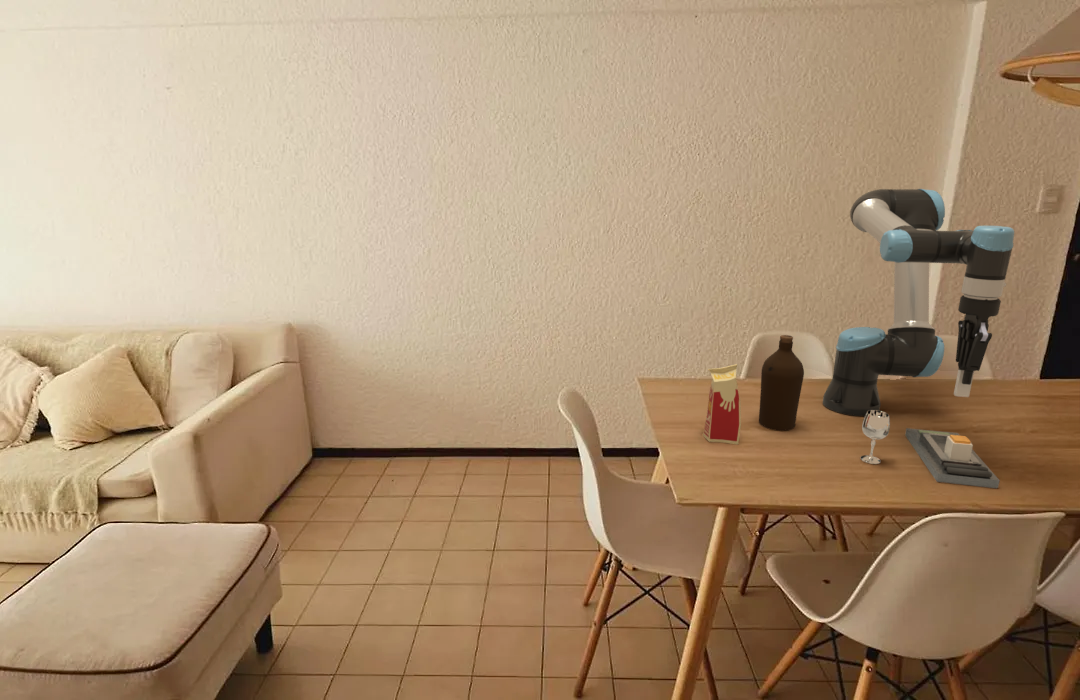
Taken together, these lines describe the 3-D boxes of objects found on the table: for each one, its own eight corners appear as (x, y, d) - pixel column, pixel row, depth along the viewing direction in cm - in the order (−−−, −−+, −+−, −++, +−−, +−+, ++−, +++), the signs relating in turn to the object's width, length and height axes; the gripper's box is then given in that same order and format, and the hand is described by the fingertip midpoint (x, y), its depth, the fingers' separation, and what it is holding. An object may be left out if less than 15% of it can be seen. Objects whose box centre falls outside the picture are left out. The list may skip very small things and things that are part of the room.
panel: (936, 481, 142) (939, 468, 141) (905, 435, 166) (907, 423, 165) (997, 488, 139) (1000, 475, 138) (956, 440, 163) (958, 428, 162)
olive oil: (794, 435, 166) (805, 344, 159) (752, 427, 171) (761, 338, 164) (799, 421, 175) (810, 334, 168) (760, 413, 180) (769, 329, 173)
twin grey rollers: (948, 474, 141) (949, 468, 141) (942, 467, 144) (943, 461, 144) (992, 479, 139) (993, 473, 138) (986, 471, 142) (987, 466, 142)
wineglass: (855, 461, 151) (863, 415, 148) (858, 452, 156) (865, 407, 153) (882, 467, 148) (890, 420, 145) (884, 458, 153) (892, 412, 150)
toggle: (949, 462, 146) (953, 440, 144) (943, 455, 150) (947, 433, 148) (968, 465, 145) (973, 442, 143) (962, 457, 149) (967, 435, 147)
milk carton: (736, 430, 169) (743, 359, 163) (740, 444, 160) (747, 370, 155) (701, 427, 171) (707, 357, 165) (703, 441, 162) (709, 368, 156)
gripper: (1013, 303, 134) (990, 407, 140) (988, 291, 146) (969, 388, 152) (972, 301, 136) (952, 403, 142) (951, 290, 148) (934, 385, 154)
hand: (961, 395), depth 147 cm, fingers closed
